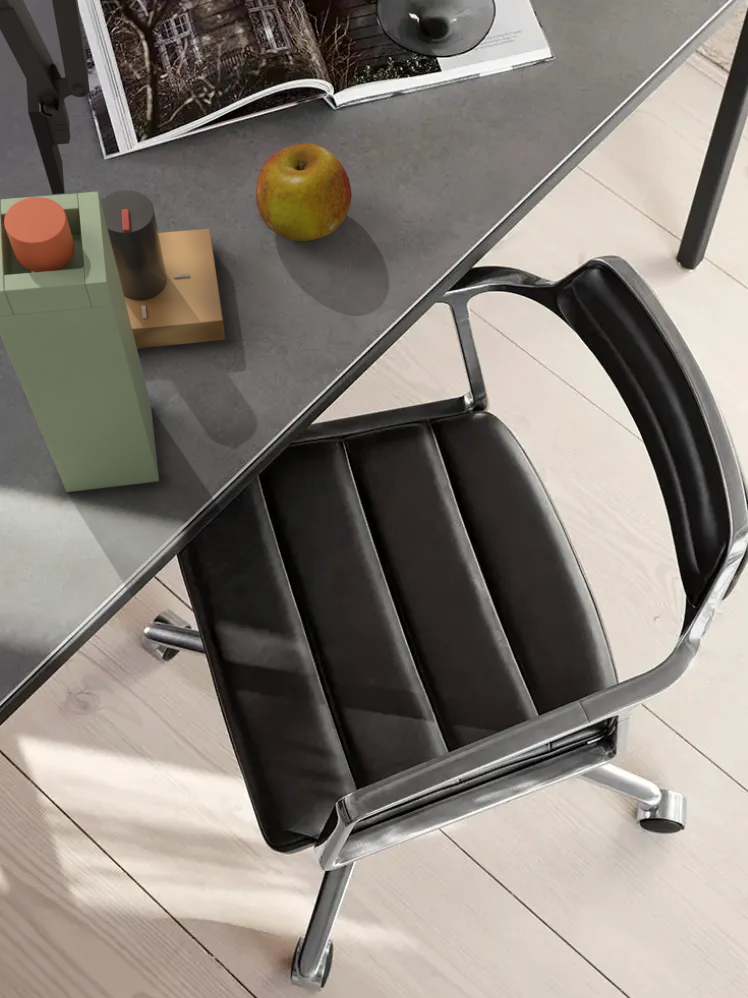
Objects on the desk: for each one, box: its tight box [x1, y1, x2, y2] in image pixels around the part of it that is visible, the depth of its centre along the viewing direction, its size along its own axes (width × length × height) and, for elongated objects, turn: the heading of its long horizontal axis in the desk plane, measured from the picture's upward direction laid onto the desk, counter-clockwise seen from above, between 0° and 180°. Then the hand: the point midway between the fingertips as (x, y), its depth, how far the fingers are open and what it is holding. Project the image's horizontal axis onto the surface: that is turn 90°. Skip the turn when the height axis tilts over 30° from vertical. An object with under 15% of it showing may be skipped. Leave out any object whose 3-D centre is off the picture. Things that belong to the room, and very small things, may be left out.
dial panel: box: [124, 228, 226, 349], centre depth 106 cm, size 14×11×3 cm
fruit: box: [255, 143, 352, 242], centre depth 110 cm, size 10×9×8 cm
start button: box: [4, 196, 75, 272], centre depth 76 cm, size 4×4×3 cm
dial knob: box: [100, 189, 167, 300], centre depth 101 cm, size 5×5×9 cm
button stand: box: [0, 191, 160, 493], centre depth 89 cm, size 8×8×27 cm
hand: (22, 179), depth 71 cm, fingers open, 4 cm apart
